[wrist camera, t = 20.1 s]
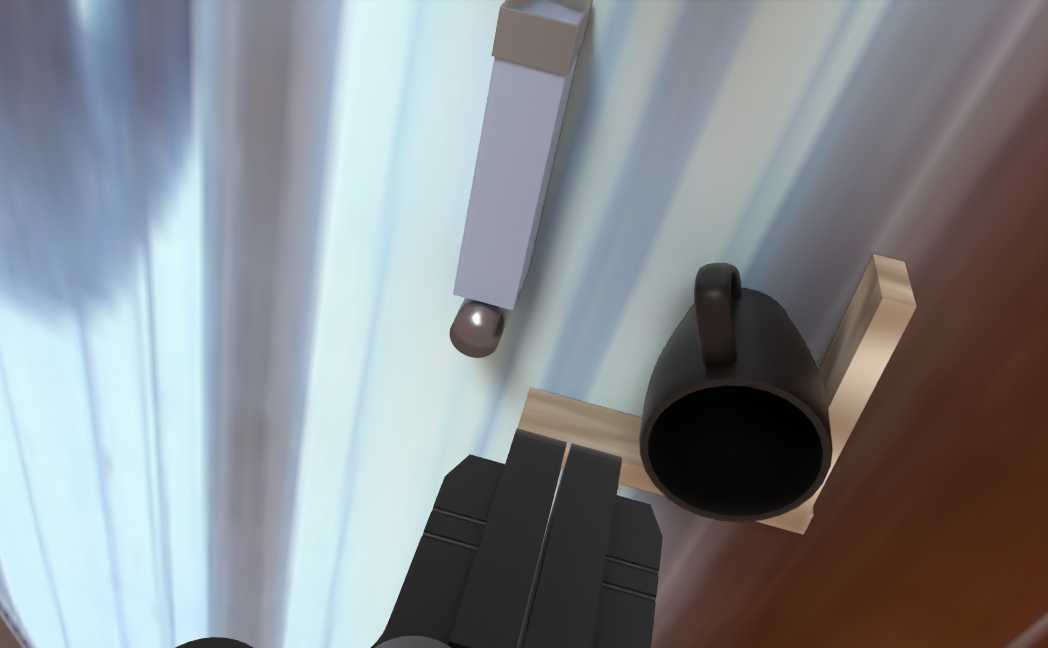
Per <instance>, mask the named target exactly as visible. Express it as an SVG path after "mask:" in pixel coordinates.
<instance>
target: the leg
mask: <svg viewBox="0 0 1048 648" xmlns="http://www.w3.org/2000/svg"><path fill="white" fill-rule="evenodd" d="M592 2H593V0H505V2H504V3H503V4H502V5H501V7H500V11H499V17H498V22H497V28H496V34H495V40H494V45H493V51H492V56H495V59H494V64H493V70H492V76H491V81H490V87H489V93H488V99H487V104H486V110H485V116H484V121H483V127H482V133H481V138H480V144H479V150H478V156H477V161H476V167H475V173H474V178H473V184H472V190H471V195H470V201H469V207H468V213H467V218H466V224H465V230H464V235H463V241H462V247H461V253H460V258H459V264H458V270H457V275H456V281H455V287H454V292H453V294H455V295H458V296H462V297H466V298H469V299H473V300H477V301H480V302H484V303H488V304H491V305H495V306H499V307H502V308H506V309H510V310H514V307H515V305H516V302H517V299H518V297H519V294H520V292H521V289H522V286H523V284H524V281H525V279H526V276H527V273H528V271H529V268H530V263H531V259H532V255H533V250H534V246H535V241H536V237H537V233H538V228H539V224H540V219H541V215H542V211H543V206H544V202H545V197H546V193H547V189H548V184H549V180H550V176H551V171H552V167H553V162H554V158H555V154H556V149H557V145H558V140H559V136H560V132H561V127H562V123H563V118H564V114H565V110H566V105H567V101H568V97H569V92H570V88H571V83H572V79H573V75H574V70H575V66H576V61H577V57H578V53H579V51H580V49H581V47H582V44H583V41H584V37H585V32H586V28H587V23H588V19H589V15H590V10H591V6H592Z"/></svg>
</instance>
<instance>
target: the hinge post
mask: <svg viewBox="0 0 1048 648" xmlns="http://www.w3.org/2000/svg"><path fill="white" fill-rule="evenodd" d="M510 312H511V310H510V309H506V308H502V307H499V306H495V305H491V304H488V303H484V302H480V301H477V300H473V299H469V298H466V297H465V299H464V301H463V303H462V305H461V307H460V309H459V311H458V313H457V316H456V318H455V320H454V322H453V324H452V326H451V329H450V339H451V342H452V343H453V345H454V347H455V348H456V349H457V350H458V351H460V352H461V353H463V354H464V355H467V356H470V357H474V358H481V357H486V356H488V355H490V354H492V353H493V352H494V351H495V349H496V348H497V345H498V343H499V340H500V338H501V335H502V332H503V330H504V327H505V325H506V322H507V320H508V317H509V314H510Z"/></svg>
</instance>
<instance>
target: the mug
mask: <svg viewBox="0 0 1048 648" xmlns="http://www.w3.org/2000/svg"><path fill="white" fill-rule="evenodd" d="M639 450H640V456H641V459H642V463H643V466H644V469H645V471H646V473H647V475H648V476H649V478H650V479H651V481H652V483H653V484H654V485H655V486H656V488H657V489H658V490H659V491H660V492H662V493H663V494H664V495H665V496H666V497H667V498H668V499H669V500H671V501H672V502H674V503H675V504H677V505H679V506H680V507H682V508H683V509H686V510H688V511H690V512H693V513H695V514H697V515H700V516H703V517H707V518H711V519H716V520H720V521H731V522H750V521H761V520H765V519H769V518H773V517H777V516H781V515H783V514H785V513H787V512H789V511H791V510H794V509H796V508H798V507H799V506H800V505H802V504H803V503H804V502H806V501H807V500H808V499H810V498H811V497H812V496H813V495H814V494H815V493H816V491H817V490H818V489H819V488H820V487H821V485H822V484H823V482H824V480H825V478H826V476H827V474H828V471H829V469H830V467H831V461H832V452H833V446H832V437H831V428H830V419H829V411H828V404H827V399H826V393H825V389H824V385H823V382H822V379H821V375H820V373H819V371H818V368H817V366H816V363H815V361H814V359H813V357H812V355H811V353H810V351H809V349H808V347H807V345H806V343H805V342H804V340H803V338H802V336H801V335H800V333H799V332H798V330H797V329H796V327H795V326H794V324H793V323H792V322H791V320H790V319H789V317H788V315H787V313H786V311H785V310H784V309H783V308H782V307H781V305H780V304H779V303H778V302H776V301H775V300H774V299H772V298H771V297H769V296H768V295H765V294H763V293H761V292H759V291H756V290H751V289H747V288H741V280H740V275H739V272H738V270H737V268H736V267H735V266H733V265H730V264H727V263H712V264H707V265H705V266H703V267H701V268H700V269H699V271H698V273H697V276H696V280H695V290H694V305H693V306H692V307H691V308H690V309H689V311H688V312H687V314H686V316H685V317H684V319H683V320H682V321H681V323H680V324H679V325H678V327H677V328H676V330H675V331H674V333H673V334H672V336H671V338H670V339H669V341H668V343H667V344H666V346H665V348H664V349H663V351H662V353H661V355H660V357H659V359H658V361H657V363H656V365H655V368H654V370H653V373H652V376H651V379H650V382H649V386H648V390H647V393H646V398H645V403H644V409H643V416H642V422H641V429H640V436H639Z"/></svg>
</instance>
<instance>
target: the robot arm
mask: <svg viewBox="0 0 1048 648" xmlns="http://www.w3.org/2000/svg"><path fill="white" fill-rule="evenodd" d="M566 445H567V442H565V441H561V440H558V439H554V438H551V437H547V436H543V435H540V434H536V433H533V432H529V431H525V430H522V429H518V428H517V430H516V432H515V435H514V438H513V441H512V445H511V448H510V451H509V454H508V457H507V460H506V463H505V464H502V463H499V462H495V461H492V460H488V459H484V458H481V457H477V456H474V455H469V456H468V457H466V458H465V459H464V460H463V461H462V462H461V463H460V464H458V465H457V466H456V467H455V468H454V469H453V470H452V471H451V472H449V473H448V474H447V475H446V476H445V478H444V480H443V483H442V485H441V488H440V491H439V493H438V496H437V498H436V501H435V503H434V506H433V510H432V512H431V514H430V516H429V519H428V521H427V524H426V527H425V529H424V533H423V536H422V537H421V539H420V542H419V545H418V547H417V550H416V552H415V555H414V557H413V560H412V563H411V565H410V568H409V570H408V573H407V575H406V578H405V581H404V583H403V586H402V588H401V591H400V593H399V596H398V599H397V601H396V604H395V606H394V609H393V611H392V614H391V617H390V619H389V622H388V624H387V626H386V628H385V630H384V632H383V634H382V635H381V637H380V638H379V639H378V641H377V642H376V643H375V644H374V645H373V646H372V647H371V648H651V642H652V632H653V623H654V613H655V604H656V603H655V598H656V594H657V585H658V571H659V566H660V556H661V547H662V534H661V532H660V529H659V526H658V524H657V521H656V518H655V516H654V513H653V510H652V507H651V505H650V504H647V503H643V502H639V501H636V500H632V499H629V498H625V497H621V496H618V495H617V489H618V483H619V477H620V471H621V465H622V457H620V456H617V455H613V454H609V453H606V452H602V451H599V450H595V449H591V448H588V447H584V446H580V445H577V444H573V443H571V446H570V449H569V453H568V456H567V459H566V463H565V466H564V470H563V473H562V477H561V480H560V484H559V487H558V490H557V494H556V497H555V501H554V504H553V508H552V511H551V515H550V518H549V514H550V510H551V506H552V502H553V498H554V494H555V490H556V486H557V482H558V478H559V474H560V470H561V465H562V461H563V457H564V453H565V449H566ZM548 518H549V522H548ZM547 523H548V525H547ZM546 527H547V529H546ZM545 531H546V532H545ZM544 535H545V536H544ZM543 539H544V540H543ZM542 543H543V544H542ZM541 547H542V548H541ZM176 648H253V647H251V646H249V645H247V644H246V643H243V642H240V641H237V640H234V639H229V638H219V637H211V638H202V639H198V640H194V641H190V642H187V643H185V644H182V645H180V646H178V647H176Z"/></svg>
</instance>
